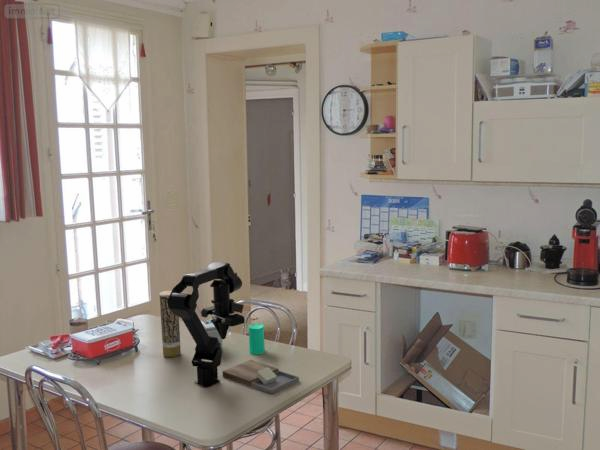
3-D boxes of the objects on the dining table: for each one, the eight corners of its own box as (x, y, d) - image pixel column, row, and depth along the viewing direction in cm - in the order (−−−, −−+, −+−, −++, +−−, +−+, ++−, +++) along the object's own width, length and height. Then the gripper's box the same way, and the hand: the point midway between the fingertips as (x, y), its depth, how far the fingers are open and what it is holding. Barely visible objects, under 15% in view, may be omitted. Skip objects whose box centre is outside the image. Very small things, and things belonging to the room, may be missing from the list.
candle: (265, 349, 249) (264, 320, 248) (263, 354, 244) (262, 324, 242) (250, 348, 250) (249, 319, 248) (248, 354, 244) (247, 324, 242)
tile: (264, 384, 214) (266, 380, 213) (255, 375, 217) (257, 371, 216) (275, 380, 218) (277, 376, 217) (266, 371, 221) (268, 366, 220)
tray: (271, 394, 207) (271, 389, 207) (251, 386, 214) (250, 382, 214) (299, 381, 217) (298, 377, 217) (278, 374, 224) (278, 370, 224)
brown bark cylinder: (176, 358, 242) (173, 295, 238) (160, 357, 243) (156, 294, 239) (183, 352, 248) (180, 290, 244) (167, 351, 250) (163, 290, 246)
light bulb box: (199, 346, 255) (198, 320, 253) (215, 343, 258) (214, 318, 256) (206, 354, 245) (205, 328, 243) (223, 351, 248) (222, 325, 246)
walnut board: (250, 386, 214) (249, 381, 214) (222, 376, 223) (222, 371, 223) (278, 373, 224) (278, 368, 224) (251, 364, 233) (250, 359, 233)
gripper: (255, 297, 223) (257, 339, 226) (223, 288, 236) (225, 328, 239) (230, 303, 216) (232, 347, 218) (199, 294, 229) (201, 335, 231)
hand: (223, 338), depth 227 cm, fingers closed
